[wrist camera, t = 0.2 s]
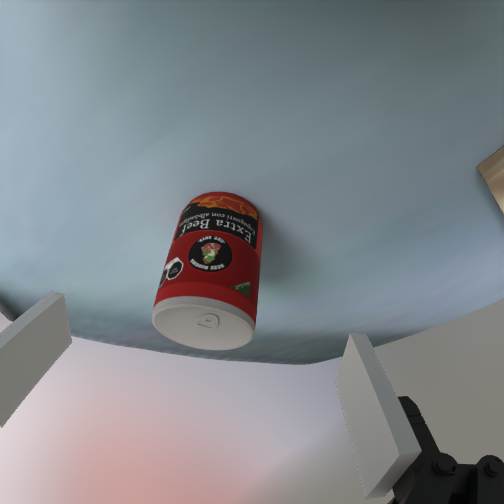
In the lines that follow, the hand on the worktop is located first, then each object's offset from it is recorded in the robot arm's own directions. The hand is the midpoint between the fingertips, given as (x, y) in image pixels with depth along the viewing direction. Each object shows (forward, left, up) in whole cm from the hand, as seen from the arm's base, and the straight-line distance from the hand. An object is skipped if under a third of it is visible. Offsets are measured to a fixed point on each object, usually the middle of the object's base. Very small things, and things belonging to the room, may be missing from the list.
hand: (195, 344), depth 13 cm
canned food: (+8, -1, -15) cm, 18 cm away
